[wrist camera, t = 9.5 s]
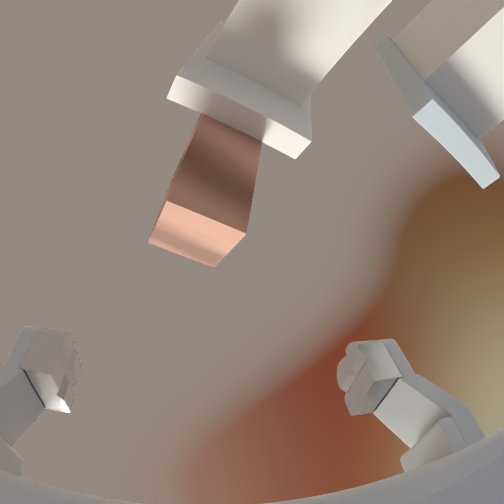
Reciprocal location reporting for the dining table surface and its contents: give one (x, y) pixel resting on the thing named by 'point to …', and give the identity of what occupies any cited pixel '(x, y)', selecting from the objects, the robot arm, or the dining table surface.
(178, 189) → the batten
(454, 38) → the stand
